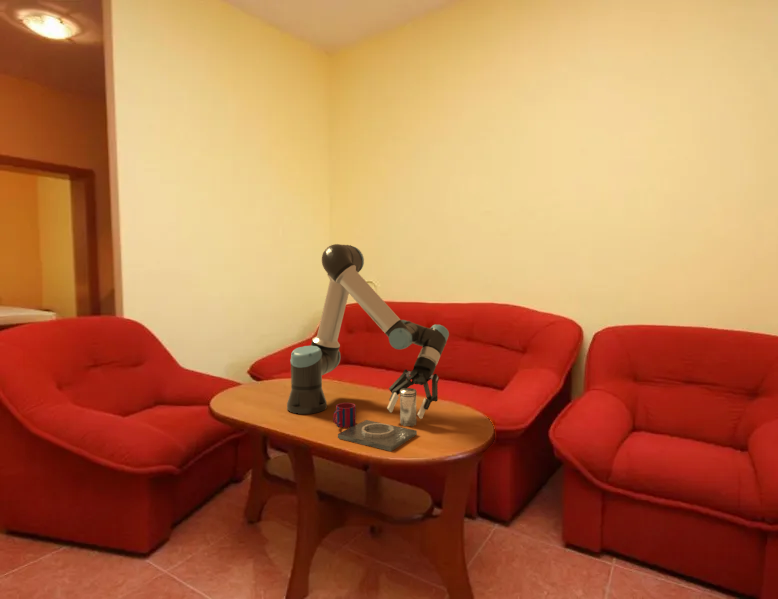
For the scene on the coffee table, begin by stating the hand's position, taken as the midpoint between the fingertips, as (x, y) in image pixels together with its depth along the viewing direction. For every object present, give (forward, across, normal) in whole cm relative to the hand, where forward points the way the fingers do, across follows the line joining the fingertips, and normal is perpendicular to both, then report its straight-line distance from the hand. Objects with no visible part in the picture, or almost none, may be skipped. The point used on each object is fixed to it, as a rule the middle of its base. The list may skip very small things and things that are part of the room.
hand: (404, 413), depth 162 cm
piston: (+1, 0, -5) cm, 5 cm away
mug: (+12, +18, +5) cm, 22 cm away
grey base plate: (+13, +2, +6) cm, 14 cm away
